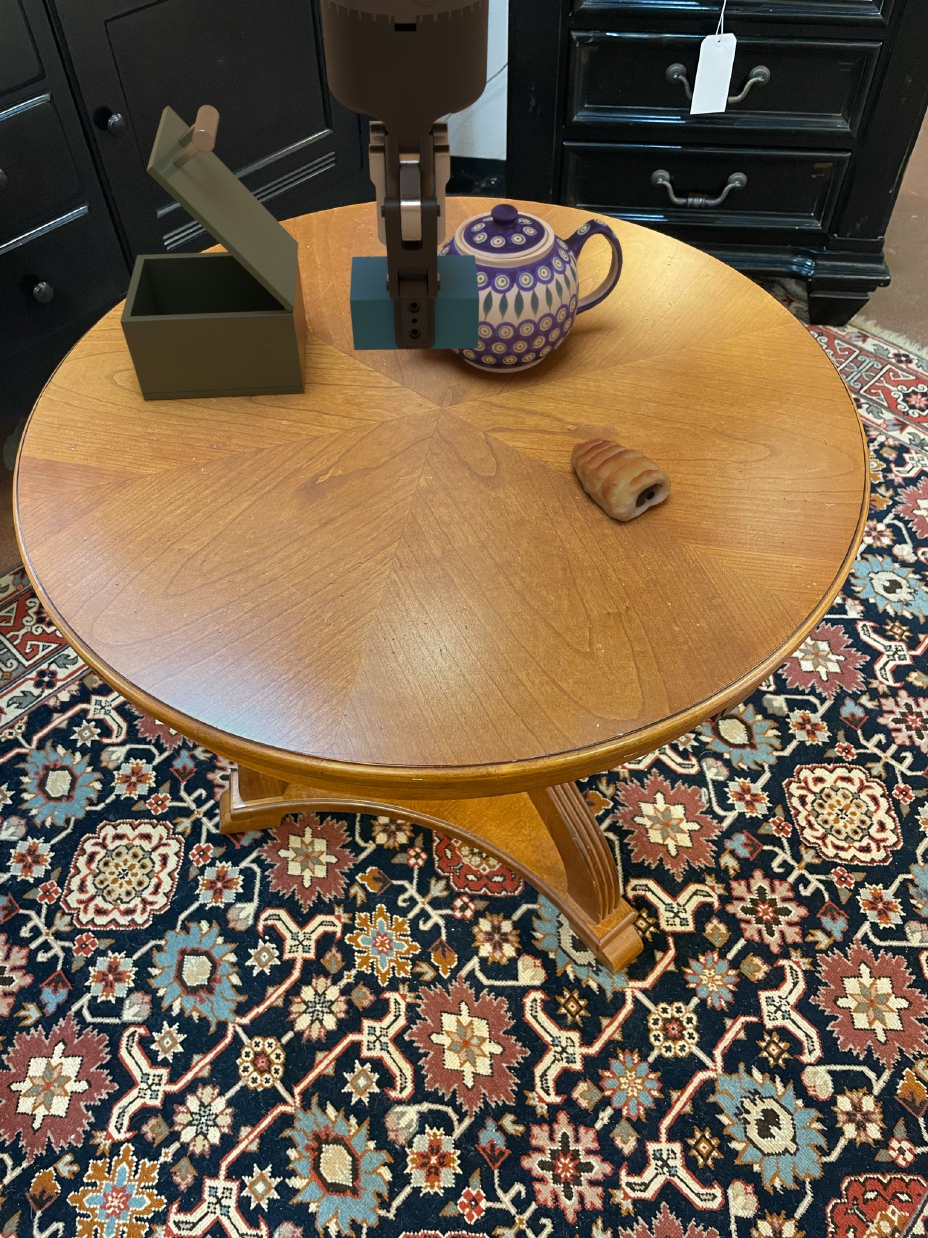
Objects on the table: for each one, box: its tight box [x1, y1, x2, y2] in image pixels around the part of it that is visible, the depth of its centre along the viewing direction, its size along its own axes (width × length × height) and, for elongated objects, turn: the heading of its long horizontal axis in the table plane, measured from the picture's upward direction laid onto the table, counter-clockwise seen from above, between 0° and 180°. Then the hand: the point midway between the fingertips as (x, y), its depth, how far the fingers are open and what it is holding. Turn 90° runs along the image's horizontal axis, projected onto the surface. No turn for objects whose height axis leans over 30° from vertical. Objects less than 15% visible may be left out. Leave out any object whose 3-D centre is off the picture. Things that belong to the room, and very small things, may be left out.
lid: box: [146, 104, 299, 312], centre depth 85 cm, size 16×12×5 cm
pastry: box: [570, 437, 672, 522], centre depth 85 cm, size 9×7×4 cm
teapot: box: [437, 203, 624, 374], centre depth 94 cm, size 25×15×15 cm, turn 103°
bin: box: [120, 251, 308, 401], centre depth 94 cm, size 16×12×9 cm
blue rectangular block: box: [349, 255, 479, 351], centre depth 54 cm, size 7×4×3 cm, turn 93°
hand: (414, 318), depth 55 cm, fingers closed on blue rectangular block, 4 cm apart
